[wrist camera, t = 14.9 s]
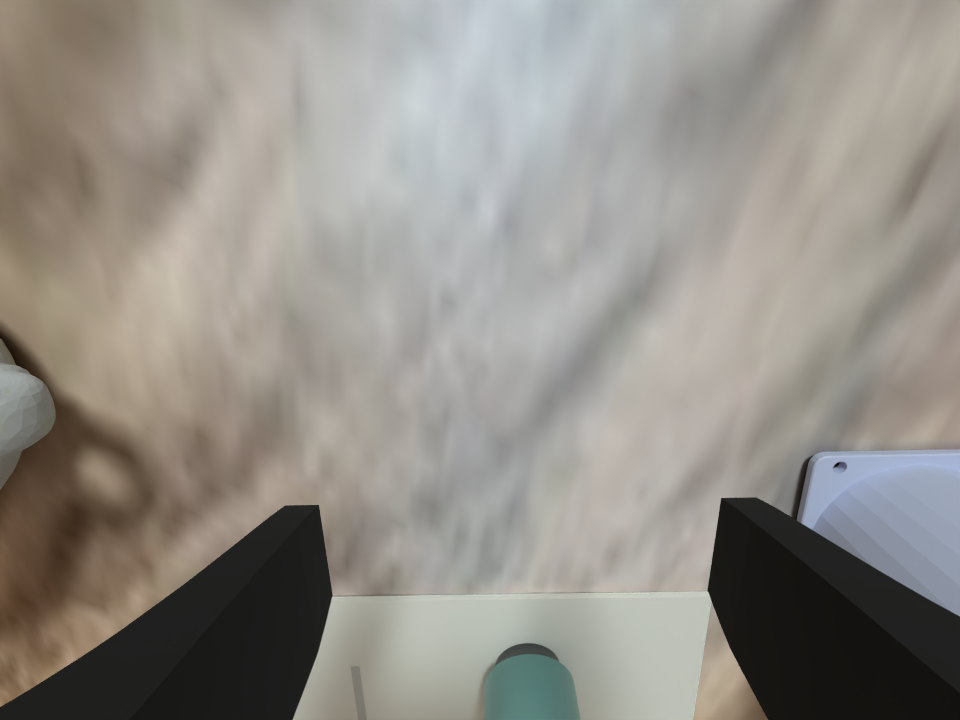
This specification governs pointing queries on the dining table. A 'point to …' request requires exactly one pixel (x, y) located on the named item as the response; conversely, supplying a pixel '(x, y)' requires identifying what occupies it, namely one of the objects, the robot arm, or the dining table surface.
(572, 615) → the paper pad
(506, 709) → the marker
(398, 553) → the dining table surface
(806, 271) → the dining table surface
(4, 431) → the teacup
